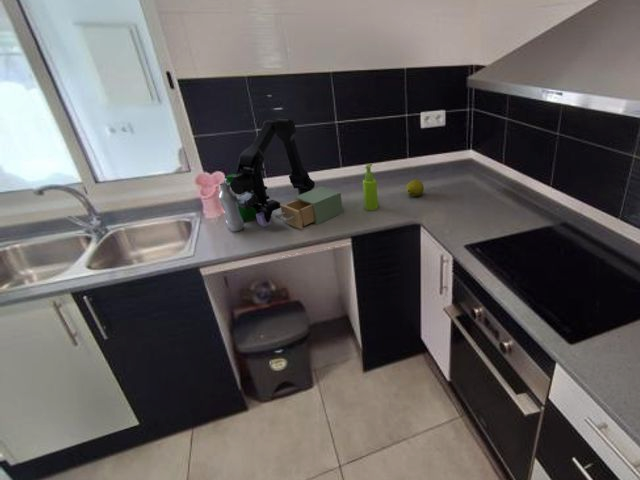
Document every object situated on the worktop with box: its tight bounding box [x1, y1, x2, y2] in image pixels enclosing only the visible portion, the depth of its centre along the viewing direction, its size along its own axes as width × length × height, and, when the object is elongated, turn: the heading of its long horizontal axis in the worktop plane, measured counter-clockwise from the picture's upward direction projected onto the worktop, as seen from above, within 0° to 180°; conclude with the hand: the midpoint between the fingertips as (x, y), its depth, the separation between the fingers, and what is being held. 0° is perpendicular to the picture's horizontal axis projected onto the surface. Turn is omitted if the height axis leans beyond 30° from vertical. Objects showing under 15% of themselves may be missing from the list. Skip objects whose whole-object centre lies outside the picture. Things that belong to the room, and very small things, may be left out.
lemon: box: [405, 179, 425, 197], centre depth 184 cm, size 11×8×8 cm
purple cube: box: [256, 212, 273, 227], centre depth 155 cm, size 4×4×4 cm
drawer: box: [274, 199, 315, 230], centre depth 159 cm, size 18×11×8 cm, turn 143°
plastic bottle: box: [218, 181, 245, 232], centre depth 152 cm, size 6×7×20 cm
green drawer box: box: [294, 186, 344, 225], centre depth 166 cm, size 15×13×10 cm
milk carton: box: [224, 173, 257, 223], centre depth 162 cm, size 9×9×20 cm
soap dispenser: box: [362, 163, 379, 211], centre depth 170 cm, size 6×7×20 cm
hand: (264, 220), depth 156 cm, fingers closed on purple cube, 4 cm apart
